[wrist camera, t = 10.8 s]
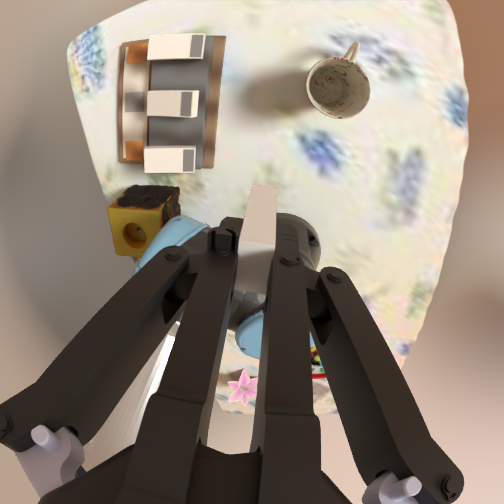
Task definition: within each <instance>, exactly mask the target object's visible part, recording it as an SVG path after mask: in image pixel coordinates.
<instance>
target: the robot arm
mask: <svg viewBox="0 0 504 504" xmlns="http://www.w3.org/2000/svg"><path fill="white" fill-rule="evenodd" d="M276 204H277V187H270V186H263V185H256V184H253V185H252V189H251V193H250V197H249V201H248V205H247V209H246V213H245V217H244V219H242V218H234V217H226V218H224V219H223V220H222V221H221V223H220V226H219V227H214V228H211V227H209V226H210V225H208V224H203V223H201V222H199V221H197V220H194V219H192V218H190V217H188V216H185V215H179V216H176V217H174V218H172V219H171V220H169V221H168V222H167V223H166V224H165V225H164V227H163V228H162V229H161V230H160V231H159V232H158V234H157V235H156V236H155V238H154V239H153V240H152V242H151V243H150V245H149V246H148V248H147V249H146V251H145V252H144V254H143V255H142V257H141V259H140V261H139V263H138V265H137V267H136V269H135V271H134V272H133V275H132V278H131V279H130V280H129V281H128V282H127V283H126V284H125V285H124V286H123V287H122V288H121V289H120V290H119V291H118V292H117V293H116V294H115V295H114V296H113V297H112V298H111V299H110V300H109V301H108V302H107V303H106V304H105V305H104V306H103V307H102V308H101V309H100V310H99V311H98V312H97V313H96V314H95V315H94V317H93V318H92V319H91V320H90V321H89V322H88V323H87V324H86V325H85V326H84V327H83V328H82V330H80V332H79V333H78V334H77V335H76V336H75V337H74V338H73V339H72V341H71V342H70V343H69V344H68V345H67V346H66V347H65V348H64V349H63V351H62V352H61V353H60V354H59V355H58V356H57V358H56V359H55V360H54V361H53V362H52V363H51V365H50V366H49V367H48V368H47V369H46V370H45V372H44V373H43V374H42V375H41V376H40V378H39V379H38V380H37V381H36V383H34V384H32V385H31V386H29V387H27V388H26V389H24V390H23V391H21V392H20V393H18V394H17V395H15V396H13V397H11V398H10V399H8V400H7V401H5V402H4V403H2V404H0V443H2V444H3V445H5V446H6V447H8V448H10V449H12V450H13V451H14V452H15V454H16V456H17V458H18V460H19V462H20V464H21V466H22V467H23V469H24V471H25V473H26V474H27V476H28V478H29V480H30V482H31V483H32V485H33V487H34V488H35V490H36V492H37V493H38V495H39V496H40V498H41V499H40V501H39V502H38V504H352V503H351V502H350V501H349V500H348V499H347V497H346V496H345V495H344V494H343V493H342V492H341V491H340V490H339V489H338V487H337V486H336V485H335V484H334V483H333V482H332V481H331V479H330V478H329V477H328V476H327V475H326V474H325V473H324V472H323V471H322V470H321V428H320V421H319V418H318V417H317V416H316V415H315V414H314V411H313V386H312V363H311V347H312V346H313V345H314V344H315V347H316V349H317V352H318V355H319V358H320V360H321V363H322V366H323V369H324V372H325V375H326V377H327V380H328V383H329V386H330V389H331V392H332V395H333V398H334V400H335V403H336V406H337V409H338V412H339V415H340V418H341V421H342V424H343V427H344V430H345V433H346V436H347V439H348V442H349V445H350V448H351V452H352V455H353V458H354V461H355V463H356V466H357V468H358V471H359V473H360V475H361V477H362V479H363V481H364V482H365V484H366V485H367V486H368V487H367V489H366V490H365V493H364V495H363V497H362V503H363V504H451V503H453V502H454V501H455V500H457V499H458V497H459V496H460V494H461V492H462V491H463V487H464V477H463V475H462V473H461V471H460V470H459V469H458V467H457V466H456V465H455V464H454V463H453V462H452V461H451V459H450V458H449V457H448V456H447V455H446V454H445V452H444V451H443V450H442V449H441V448H440V447H439V446H438V444H437V443H436V442H435V441H434V440H433V439H432V438H431V436H430V433H429V431H428V429H427V426H426V424H425V422H424V419H423V417H422V415H421V413H420V410H419V408H418V406H417V404H416V402H415V399H414V397H413V395H412V393H411V391H410V389H409V387H408V385H407V383H406V381H405V379H404V376H403V374H402V372H401V370H400V368H399V366H398V364H397V362H396V360H395V358H394V357H393V355H392V353H391V351H390V349H389V347H388V345H387V343H386V341H385V339H384V338H383V336H382V334H381V332H380V330H379V328H378V327H377V325H376V323H375V321H374V319H373V317H372V316H371V314H370V312H369V310H368V309H367V307H366V305H365V303H364V302H363V300H362V298H361V296H360V295H359V293H358V291H357V290H356V288H355V286H354V285H353V283H352V281H351V280H350V278H349V276H348V275H347V274H346V273H345V272H344V271H342V270H341V269H339V268H336V267H325V268H323V269H322V270H321V272H317V271H316V269H317V266H318V263H319V260H320V255H321V247H320V242H319V238H318V235H317V233H316V231H315V230H314V228H313V227H312V226H311V225H310V224H309V223H308V222H307V221H305V220H304V219H302V218H300V217H298V216H295V215H291V214H285V213H278V214H276ZM227 329H229V330H232V331H234V332H236V333H235V339H236V342H237V345H238V346H239V347H240V349H241V351H242V352H243V353H245V354H246V355H248V356H250V357H253V358H256V359H260V363H259V374H258V384H257V395H256V405H255V415H254V425H253V434H252V441H251V446H250V451H249V453H242V454H231V455H230V454H224V453H222V452H219V451H217V450H214V449H212V448H210V447H207V446H206V445H207V436H208V429H209V423H210V417H211V412H212V407H213V401H214V396H215V390H216V385H217V380H218V374H219V369H220V364H221V358H222V353H223V348H224V343H225V337H226V332H227ZM92 438H93V439H92ZM91 439H92V442H91V443H88V442H89V441H90V440H91Z"/></svg>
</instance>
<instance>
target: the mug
mask: <svg viewBox="0 0 504 504" xmlns="http://www.w3.org/2000/svg"><path fill="white" fill-rule="evenodd" d="M359 50H360V44H359V43H357V42H355V43H353V44H352V45H351V46H350V48H349V49H348V51H347V53H346V54H345V56H344V57H343V58H339V57H331V58H326V59H323V60H321V61H319V62H318V63H316V64H315V65H314V66H313V67H312V68H311V70H310V71H309V73H308V75H307V78H306V92H307V95H308V98H309V100H310V102H311V103H312V104H313V106H314V107H315V108H316V109H317V110H318V111H320V112H321V113H323V114H324V115H326V116H329V117H332V118H337V119H346V118H350V117H353V116H355V115H357V114H359V113H360V112H361V111H362V110H363V109H364V108H365V107H366V105H367V103H368V101H369V98H370V84H369V81H368V78H367V76H366V74H365V73H364V72H363V70H362V69H361V68H360V67H359V66H358V65H356V64H355V63H354V62H355V60H356V58H357V56H358V54H359ZM352 52H353V53H352ZM351 54H352V55H351ZM350 56H351V57H350ZM349 58H350V59H349Z"/></svg>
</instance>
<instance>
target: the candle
mask: <svg viewBox="0 0 504 504" xmlns="http://www.w3.org/2000/svg"><path fill="white" fill-rule="evenodd" d="M179 195H180V189H179V187H173V186H171V187H169V186H159V185H156V186H153V185H147V186H139V185H133V186H132V187H130V188H128V189H127V190H126V191H125V192H124V193H123V194H122V195H121V196H120V197H119V198H118V199H117V200H116V201H115V202H113V204H111V205H110V206H109V207H108V208H107V209H108V216H109V221H110V225H111V230H112V236H113V242H114V246H115V251H116V254H117V255H122V256H133V257H140V258H141V257H142V255H143V254H144V252H145V251H146V249H147V248H148V246H149V245H150V243H151V242H152V240H153V239H154V238H155V236H156V235H157V234H158V232H159V231H160V230H161V229H162V228H163V227H164V225H165V224H166V223H167V222H168V221H169V220H171V219H172V218H174V217H176V216H179V215H180V212H181V211H180V205H179V203H178V200H179Z"/></svg>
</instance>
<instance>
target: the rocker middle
mask: <svg viewBox="0 0 504 504" xmlns="http://www.w3.org/2000/svg"><path fill="white" fill-rule="evenodd" d="M198 98H199V91H198V90H153V91H148V96H147V116H172V117H189V118H193V117H197V111H198Z"/></svg>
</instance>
